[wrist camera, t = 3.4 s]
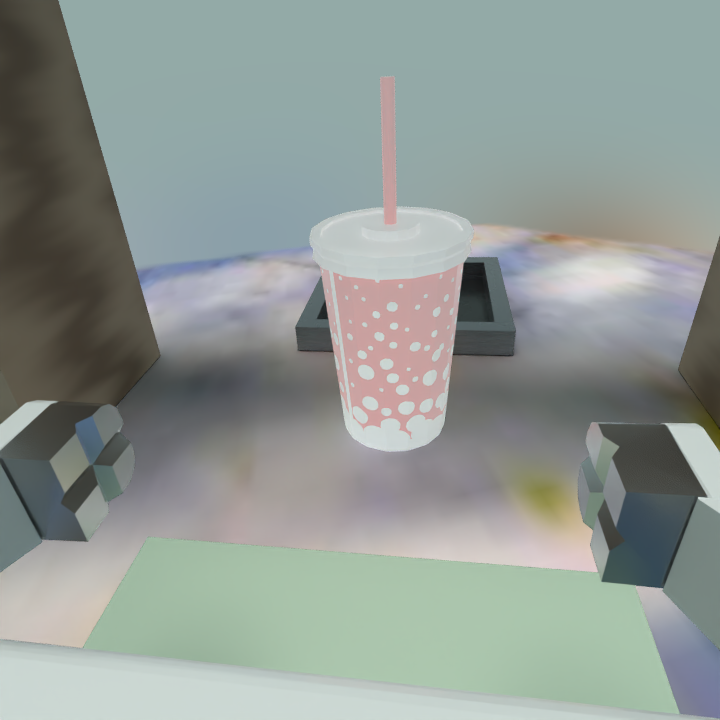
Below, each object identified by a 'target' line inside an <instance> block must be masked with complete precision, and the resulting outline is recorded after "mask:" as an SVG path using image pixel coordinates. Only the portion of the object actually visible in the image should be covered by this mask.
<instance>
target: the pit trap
mask: <svg viewBox="0 0 720 720" xmlns="http://www.w3.org/2000/svg"><path fill="white" fill-rule="evenodd" d="M295 329H296V336H297V344H298V350H315V351H333V344H332V338H331V332H330V325H329V319H328V313H327V307H326V300H325V294H324V288H323V281H322V276H321V277H320V279H319V281H318V283H317V285H316V287H315V289H314V291H313V293H312V295H311V297H310V299H309V301H308V303H307V305H306V307H305V309H304V311H303V313H302V315H301V317H300V319H299V321H298V323H297V325H296V327H295ZM515 333H516V330H515V326H514V322H513V318H512V314H511V310H510V306H509V302H508V298H507V294H506V290H505V286H504V282H503V278H502V274H501V270H500V266H499V262H498V258H497V257H467V259H466V260H465V262H464V264H463V272H462V280H461V289H460V297H459V305H458V314H457V322H456V330H455V339H454V347H453V354H476V355H513V350H514V341H515Z"/></svg>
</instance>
